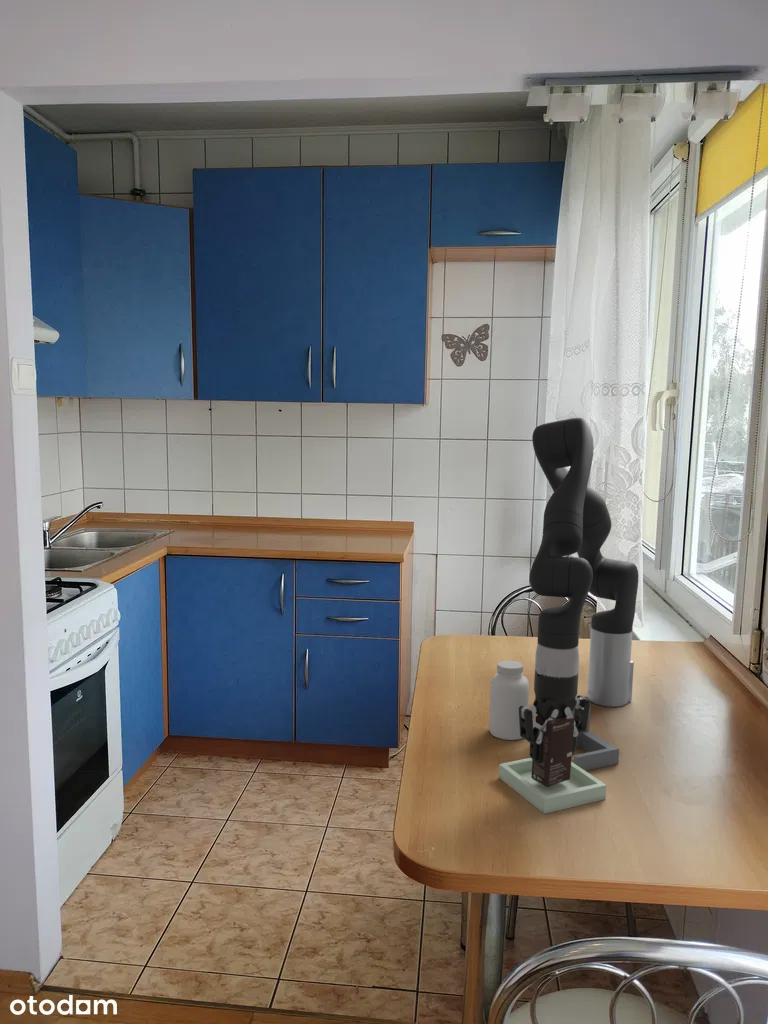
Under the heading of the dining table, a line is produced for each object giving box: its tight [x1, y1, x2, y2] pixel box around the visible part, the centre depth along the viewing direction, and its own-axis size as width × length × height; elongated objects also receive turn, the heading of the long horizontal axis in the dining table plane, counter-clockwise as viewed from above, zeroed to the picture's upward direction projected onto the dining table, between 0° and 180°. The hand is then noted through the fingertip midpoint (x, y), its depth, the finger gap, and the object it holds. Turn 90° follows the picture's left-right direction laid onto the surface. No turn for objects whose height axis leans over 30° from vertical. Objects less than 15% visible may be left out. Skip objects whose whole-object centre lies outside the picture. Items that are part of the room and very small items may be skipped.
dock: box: [572, 695, 620, 772], centre depth 155 cm, size 10×13×10 cm
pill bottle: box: [489, 660, 530, 741], centre depth 164 cm, size 8×8×15 cm
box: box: [531, 716, 575, 787], centre depth 141 cm, size 6×4×12 cm
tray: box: [498, 757, 607, 815], centre depth 141 cm, size 13×14×3 cm
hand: (552, 757), depth 141 cm, fingers closed on box, 6 cm apart
